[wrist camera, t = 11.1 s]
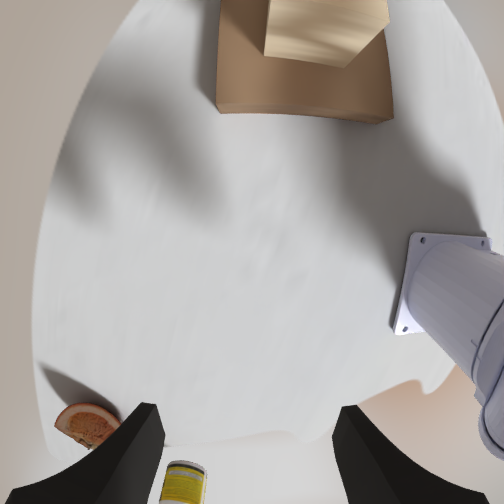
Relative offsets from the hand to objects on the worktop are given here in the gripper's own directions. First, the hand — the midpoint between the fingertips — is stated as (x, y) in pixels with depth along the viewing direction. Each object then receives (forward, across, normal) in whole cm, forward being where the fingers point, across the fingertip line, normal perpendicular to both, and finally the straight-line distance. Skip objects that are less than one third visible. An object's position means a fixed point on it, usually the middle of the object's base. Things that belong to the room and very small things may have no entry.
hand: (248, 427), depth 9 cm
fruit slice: (+10, +15, +14) cm, 23 cm away
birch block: (+7, -3, -18) cm, 20 cm away
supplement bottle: (+10, +7, +22) cm, 25 cm away
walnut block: (+10, -3, -18) cm, 21 cm away
